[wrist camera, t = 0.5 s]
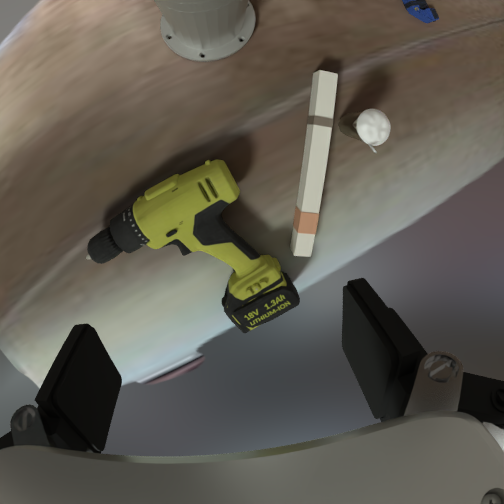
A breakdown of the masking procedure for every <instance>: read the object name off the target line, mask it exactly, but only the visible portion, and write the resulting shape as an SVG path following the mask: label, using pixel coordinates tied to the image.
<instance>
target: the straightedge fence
mask: <svg viewBox="0 0 504 504" xmlns="http://www.w3.org/2000/svg"><path fill="white" fill-rule="evenodd" d="M337 78H338V74H336V73H332V72H327V71H323V70H319V71H317V72H315V73H313V81H312V90H311V99H310V108H309V116H308V122H307V132H306V140H305V148H304V156H303V163H302V170H301V178H300V185H299V192H298V198H297V205H296V210H295V216H294V223H293V231H292V238H291V244H290V249H291V251H292V253H293V255H294V256H306V257H311V253H312V248H313V242H314V237H315V234H316V229H317V224H318V218H319V209H320V203H321V197H322V191H323V185H324V179H325V172H326V166H327V159H328V152H329V145H330V138H331V130H332V127H333V114H334V106H335V97H336V88H337Z"/></svg>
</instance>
